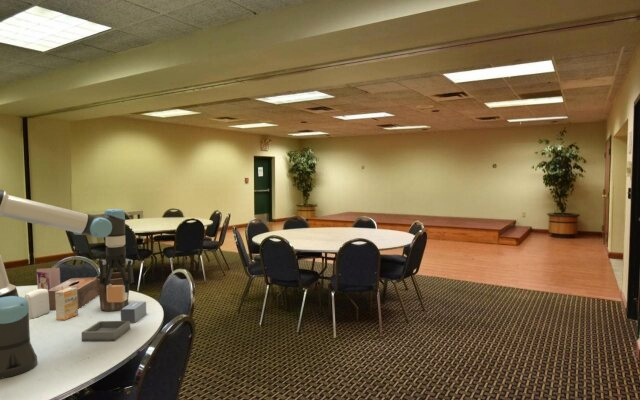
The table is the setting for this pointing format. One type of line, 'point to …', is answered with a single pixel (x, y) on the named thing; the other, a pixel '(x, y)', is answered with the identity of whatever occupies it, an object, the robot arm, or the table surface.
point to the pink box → (48, 278)
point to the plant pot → (104, 304)
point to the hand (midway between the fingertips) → (117, 299)
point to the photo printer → (38, 302)
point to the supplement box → (66, 303)
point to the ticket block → (133, 311)
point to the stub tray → (106, 331)
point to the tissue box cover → (85, 290)
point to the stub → (115, 293)
